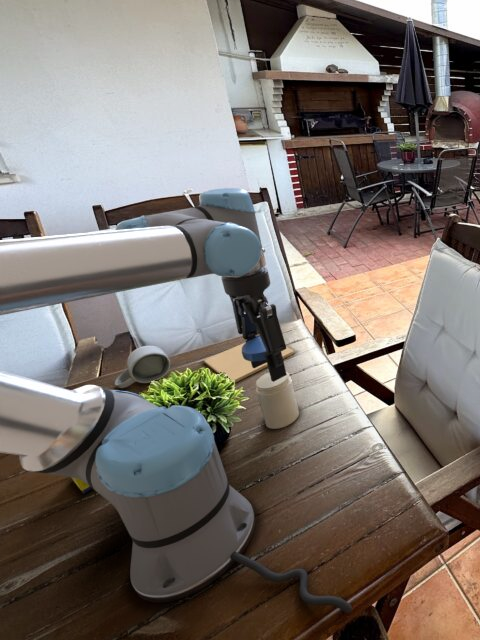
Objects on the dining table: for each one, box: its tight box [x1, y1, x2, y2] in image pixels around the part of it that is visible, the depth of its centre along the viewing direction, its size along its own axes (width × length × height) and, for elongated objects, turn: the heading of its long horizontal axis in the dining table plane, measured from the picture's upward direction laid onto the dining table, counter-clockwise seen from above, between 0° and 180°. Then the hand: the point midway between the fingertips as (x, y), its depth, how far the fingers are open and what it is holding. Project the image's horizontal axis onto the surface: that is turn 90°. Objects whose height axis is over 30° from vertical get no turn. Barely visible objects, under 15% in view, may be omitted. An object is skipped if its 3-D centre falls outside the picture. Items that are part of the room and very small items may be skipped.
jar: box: [255, 371, 300, 430], centre depth 87 cm, size 7×7×10 cm
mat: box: [203, 342, 295, 383], centre depth 109 cm, size 16×16×1 cm
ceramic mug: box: [114, 345, 171, 389], centre depth 100 cm, size 11×8×8 cm
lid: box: [242, 335, 267, 361], centre depth 82 cm, size 7×7×2 cm
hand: (269, 371), depth 84 cm, fingers closed on lid, 7 cm apart
